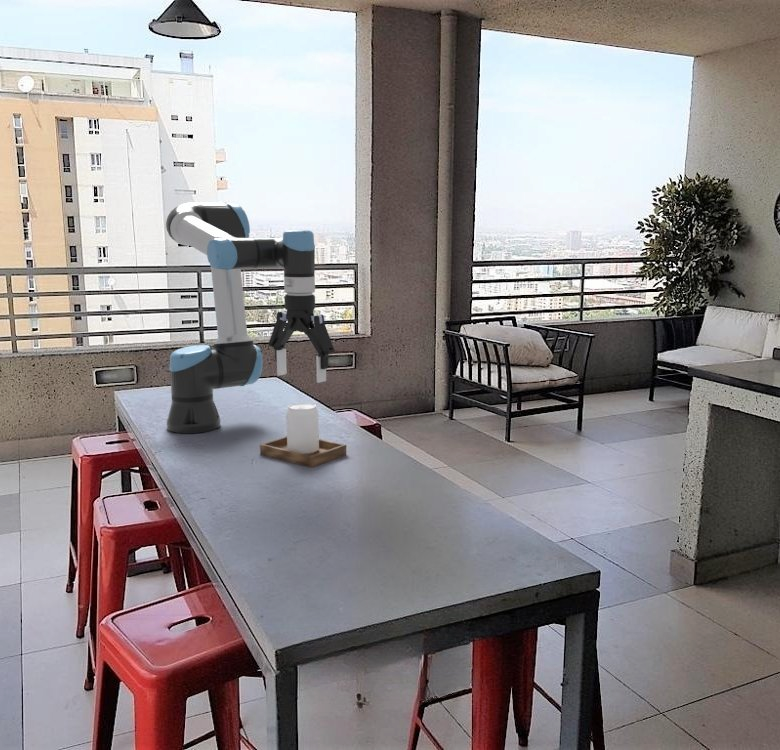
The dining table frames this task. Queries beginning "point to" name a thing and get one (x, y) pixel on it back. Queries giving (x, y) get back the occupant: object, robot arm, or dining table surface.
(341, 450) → the walnut tray
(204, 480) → the dining table surface
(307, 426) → the beverage can
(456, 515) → the dining table surface
